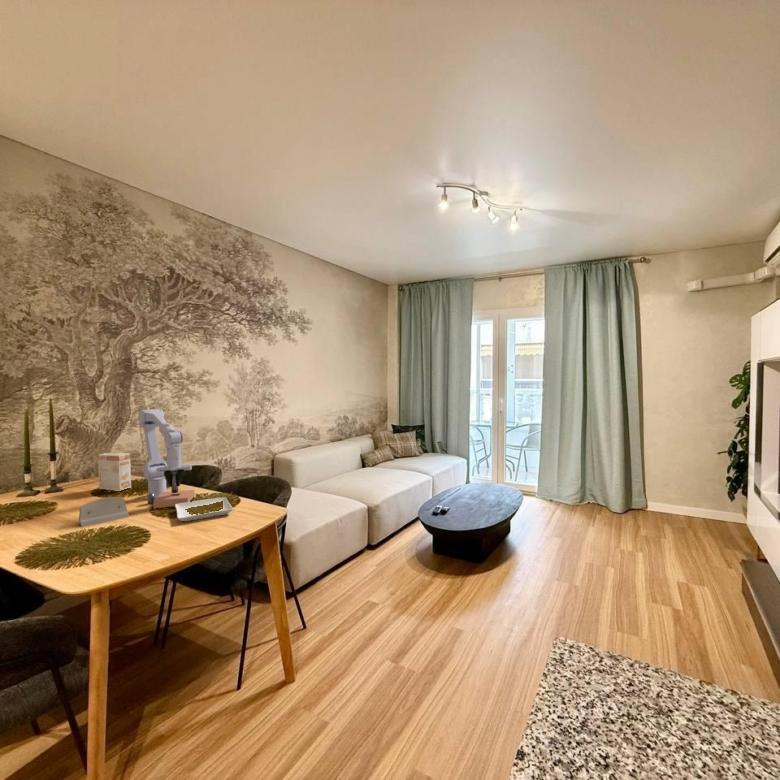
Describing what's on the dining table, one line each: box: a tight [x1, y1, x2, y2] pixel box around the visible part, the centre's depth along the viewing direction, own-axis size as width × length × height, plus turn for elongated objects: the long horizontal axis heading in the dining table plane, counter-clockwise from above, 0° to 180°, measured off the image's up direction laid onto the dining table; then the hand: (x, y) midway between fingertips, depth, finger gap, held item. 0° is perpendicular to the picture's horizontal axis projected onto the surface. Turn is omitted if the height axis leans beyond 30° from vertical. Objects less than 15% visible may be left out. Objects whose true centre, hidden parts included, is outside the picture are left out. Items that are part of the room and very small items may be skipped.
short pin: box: [146, 493, 156, 505], centre depth 186 cm, size 3×3×4 cm
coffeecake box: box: [97, 452, 132, 491], centre depth 211 cm, size 15×7×20 cm, turn 72°
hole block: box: [153, 489, 196, 510], centre depth 186 cm, size 14×14×4 cm
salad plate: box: [175, 496, 234, 522], centre depth 172 cm, size 21×21×3 cm
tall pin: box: [170, 472, 179, 493], centre depth 186 cm, size 3×3×9 cm
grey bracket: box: [78, 496, 129, 528], centre depth 165 cm, size 17×5×10 cm, turn 136°
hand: (174, 486), depth 186 cm, fingers closed on tall pin, 3 cm apart
